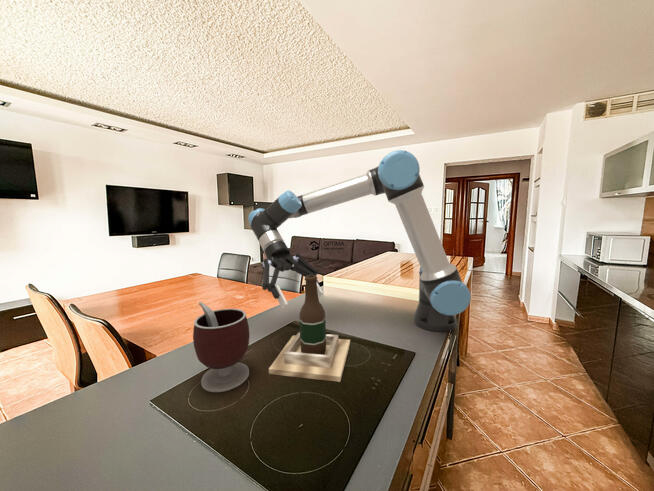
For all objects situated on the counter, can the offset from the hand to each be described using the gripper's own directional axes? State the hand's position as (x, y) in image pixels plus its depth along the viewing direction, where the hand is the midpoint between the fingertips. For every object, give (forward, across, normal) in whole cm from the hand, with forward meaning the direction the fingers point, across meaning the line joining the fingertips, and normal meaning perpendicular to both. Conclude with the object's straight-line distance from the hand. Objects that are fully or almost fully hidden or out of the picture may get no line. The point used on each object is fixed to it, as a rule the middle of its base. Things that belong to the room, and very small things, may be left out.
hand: (303, 300), depth 81 cm
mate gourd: (+7, +23, -18) cm, 30 cm away
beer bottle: (+14, -1, -9) cm, 16 cm away
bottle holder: (+14, 0, -10) cm, 18 cm away
